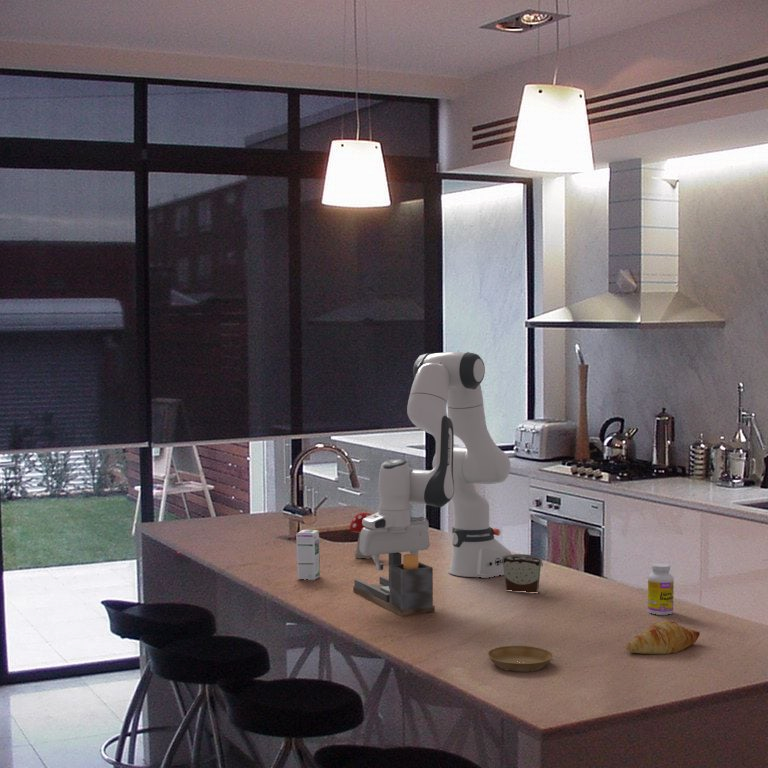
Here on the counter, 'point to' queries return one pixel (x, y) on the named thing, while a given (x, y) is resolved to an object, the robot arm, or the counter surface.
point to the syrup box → (308, 554)
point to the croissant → (663, 639)
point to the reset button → (410, 561)
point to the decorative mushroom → (357, 527)
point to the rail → (402, 590)
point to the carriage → (393, 560)
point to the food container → (522, 572)
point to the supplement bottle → (660, 590)
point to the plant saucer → (520, 657)
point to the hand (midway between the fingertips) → (395, 568)
